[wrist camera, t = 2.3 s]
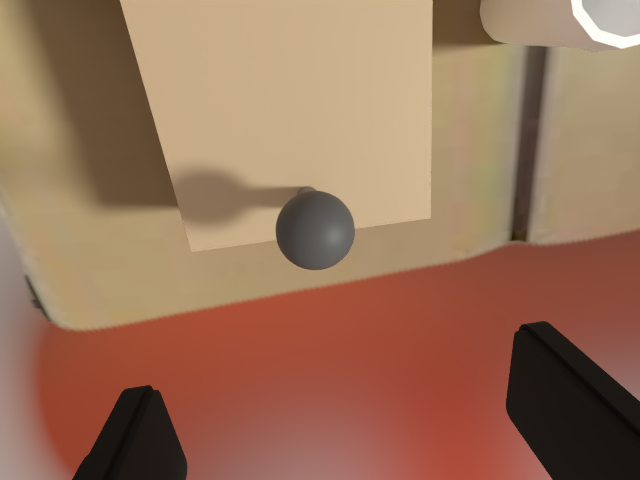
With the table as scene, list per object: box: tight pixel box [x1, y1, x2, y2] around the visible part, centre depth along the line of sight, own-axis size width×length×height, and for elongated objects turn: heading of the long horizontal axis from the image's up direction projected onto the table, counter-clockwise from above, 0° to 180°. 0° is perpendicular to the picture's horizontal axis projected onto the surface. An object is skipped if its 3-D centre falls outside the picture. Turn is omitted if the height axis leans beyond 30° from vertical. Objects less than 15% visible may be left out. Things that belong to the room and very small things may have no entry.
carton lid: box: [120, 0, 433, 270], centre depth 20 cm, size 20×18×10 cm
